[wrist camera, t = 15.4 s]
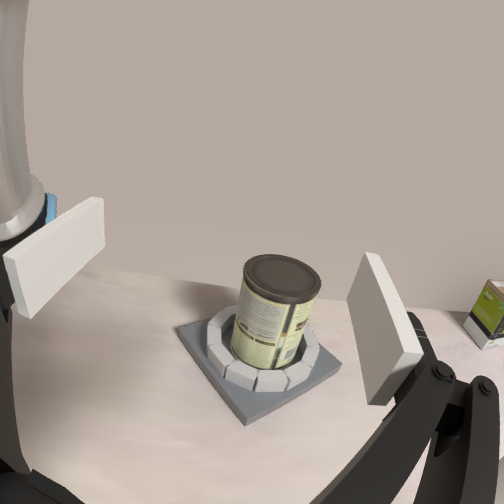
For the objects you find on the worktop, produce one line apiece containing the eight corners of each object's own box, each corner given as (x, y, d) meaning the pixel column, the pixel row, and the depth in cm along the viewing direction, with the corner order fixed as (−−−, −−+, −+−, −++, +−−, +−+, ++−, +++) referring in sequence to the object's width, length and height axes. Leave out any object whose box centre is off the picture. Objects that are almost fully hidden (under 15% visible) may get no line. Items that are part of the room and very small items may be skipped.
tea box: (490, 323, 65) (514, 279, 59) (508, 345, 57) (536, 300, 50) (461, 325, 63) (488, 276, 56) (480, 351, 54) (512, 301, 47)
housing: (178, 336, 48) (178, 316, 46) (267, 307, 59) (272, 288, 57) (245, 426, 35) (250, 409, 33) (338, 371, 47) (348, 353, 44)
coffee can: (242, 319, 52) (257, 246, 45) (300, 339, 50) (325, 267, 43) (218, 358, 43) (231, 279, 36) (285, 383, 41) (315, 307, 34)
